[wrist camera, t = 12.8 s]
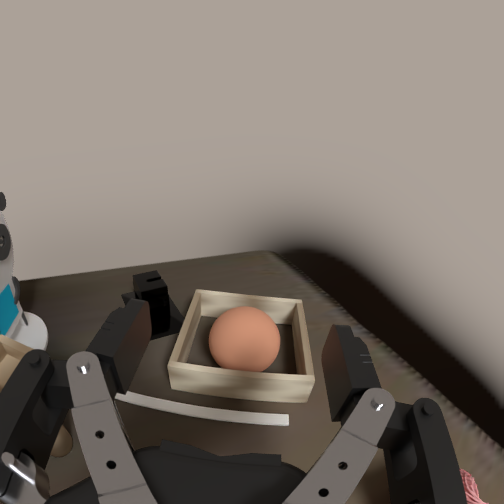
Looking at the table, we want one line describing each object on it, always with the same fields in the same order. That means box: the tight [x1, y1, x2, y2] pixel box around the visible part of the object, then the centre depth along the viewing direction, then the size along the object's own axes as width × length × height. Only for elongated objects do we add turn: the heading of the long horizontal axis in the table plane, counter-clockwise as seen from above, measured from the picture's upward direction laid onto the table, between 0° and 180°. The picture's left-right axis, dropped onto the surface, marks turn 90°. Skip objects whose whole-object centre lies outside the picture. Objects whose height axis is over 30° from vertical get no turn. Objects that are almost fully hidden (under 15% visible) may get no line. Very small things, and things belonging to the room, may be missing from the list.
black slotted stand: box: [121, 270, 185, 340], centre depth 29 cm, size 12×7×5 cm, turn 35°
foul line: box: [114, 391, 289, 426], centre depth 19 cm, size 18×1×1 cm, turn 87°
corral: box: [168, 289, 315, 403], centre depth 25 cm, size 11×11×3 cm
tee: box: [0, 334, 73, 457], centre depth 11 cm, size 4×4×9 cm
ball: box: [209, 306, 280, 372], centre depth 23 cm, size 6×6×6 cm
